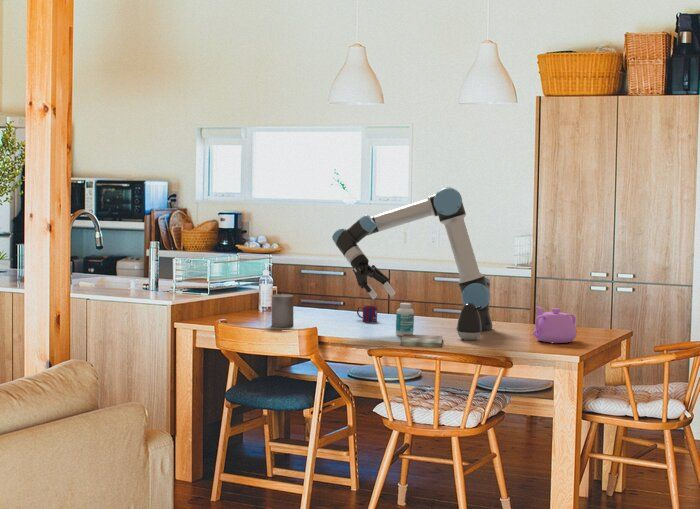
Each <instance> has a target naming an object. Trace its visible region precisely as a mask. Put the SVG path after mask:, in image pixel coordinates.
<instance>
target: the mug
mask: <svg viewBox="0 0 700 509" xmlns="http://www.w3.org/2000/svg"><path fill="white" fill-rule="evenodd" d="M360 309H362V316H361V315H360V314H359V313H360V312H359V311H360ZM356 314H357V317H358V318H360V319H362V322H364V323H377V322H378V306H375V305H363V306H359V307H358V308H357V310H356Z"/></svg>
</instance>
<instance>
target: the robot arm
mask: <svg viewBox="0 0 700 509" xmlns="http://www.w3.org/2000/svg"><path fill="white" fill-rule="evenodd" d="M431 216H433V217H435V218H436V217H438V220H439V223H440V224H443V225H444V229H445V231H446V234H447V237H448V241H449V244H450V247H451V251H452V254H453V258H454V261H455V264H456V267H457V268H456V269H457V271H458V274H459V279H458V283H457V284H458V288H459V290H460V293H461V300H462V308H463V307H464V305H465V304H467V303H472V304H474V305H475V306H476V307H478V306H482V308H481V309H479V310H478V312H479V316H480V320H481V328H482V331H481V332H485V331H486V332H487V331H488V332H489V331H492V330H493V321H492V319H491V318H492V317H491V315H490V300H491V293H490V291H491V290H490V289H491V280H490V279H489V277H485V274H483V273H481V272H480V269H479V265H478V261H477V260H476V256H475V253H474V249H473V245H472V243H471V239H470V236H469V232H468V228H467V226H466V222H465V217H466V216H467V213H466V210H465V206H464V203H463V198H462V195H461V193H460V192H459V191H458V190H457V189H456V188H453V187H448V186H447V187H443V188H440V189H439V190H438V191H437V192H436V193H435V194H432V195H428V197H427V198H426V199H423V200H420V201H417V202H414V203H411V204H407V205H404V206H401V207H398V208H395V209H392V210H388V211H384V212H383V213H378V214H376V215H373V216H370V215H369V214H364V215H363V216H361V217H360V218H359V219H358V220H356V222H354V223H353V224H352V225H351V226H350V227H349V228H344V227H341V228H339V229H337V230H336V231H335V232H334V233H333V234H332V237H331V238H332V241H333V243H334V244H335V246H336V247H337V248H338V250H339V251H340V252H341V254H342V255H343V257H344V258H345V259H346V261H347V262H348V263H349V264H350V266H351V267H352V268H353V269H352V272H353V274H354V275H355V279H356V282H357V285H358V287H360V288H361V290H362V289H365V290H366V292H367V293H368V295H369V296H370V297H371V299H372V300H375V299H376V298H377V297H378V296H379V295H378V294H377V292H376V291H375V289H374V288H373V287H372V285H371V284H370V283H368V277H370V278H373V279H375V280H376V281H377V282H379V283H380V284H382V287H383V288H384V289H385V291H386V292H387V294H388V295H389V296H390V298H393V297H394V295H395V294H396V291H395V290H394V288H393V287H392V285H390V283H389V281H390V278H389V277H388V276H386V274H384V273H383V272H382V271H381V270H380V269H378V268H377V267H376V265H374V264H372V265H370V264H369V259H368V258H367V255H366V254H365V253H364V252H363V250H362V249H361V247H359V245H358V243H359V242H360V241H361V240H363V239H365V237H367V236H371V235H373V234H377V233H379V232H382V231H385V230H388V229H389V230H390V229H393V228H395V227H399V226H401V225H404V224H408V223H411V222H414V221H418V220H422V219H425V218H427V217H431Z"/></svg>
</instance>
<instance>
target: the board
mask: <svg viewBox="0 0 700 509" xmlns="http://www.w3.org/2000/svg"><path fill="white" fill-rule="evenodd" d="M399 343H400V344H399V345H400V346H404V347H426V348H429V347H430V348H442V345H443V335H434V334H433V335H431V334H430V335H428V334H413V335H410V334H404V335H403V336H401V339H400V342H399ZM441 344H442V345H441Z"/></svg>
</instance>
